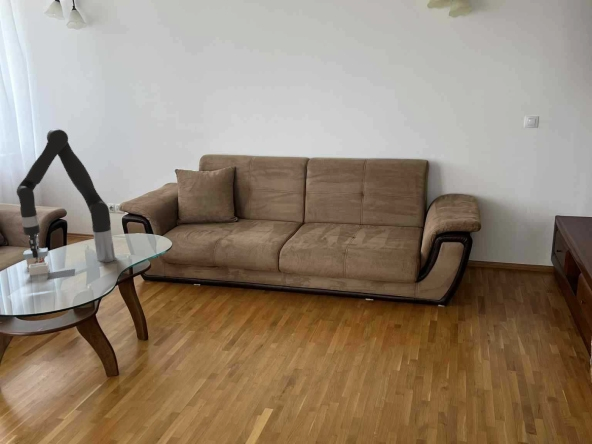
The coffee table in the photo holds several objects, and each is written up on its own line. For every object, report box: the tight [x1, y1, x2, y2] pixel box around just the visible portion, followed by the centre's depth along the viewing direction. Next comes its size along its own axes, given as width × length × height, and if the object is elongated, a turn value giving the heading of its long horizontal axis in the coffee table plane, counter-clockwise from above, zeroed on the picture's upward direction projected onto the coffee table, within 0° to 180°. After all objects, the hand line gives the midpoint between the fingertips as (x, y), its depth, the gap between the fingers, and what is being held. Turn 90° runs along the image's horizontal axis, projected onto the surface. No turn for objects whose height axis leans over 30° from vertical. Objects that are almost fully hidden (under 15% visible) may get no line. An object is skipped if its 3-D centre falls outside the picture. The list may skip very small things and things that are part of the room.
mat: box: [46, 268, 76, 280], centre depth 285 cm, size 13×10×1 cm
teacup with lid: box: [25, 247, 46, 268], centre depth 299 cm, size 12×9×12 cm
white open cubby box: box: [27, 261, 51, 276], centre depth 288 cm, size 9×6×5 cm, turn 109°
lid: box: [22, 247, 49, 260], centre depth 286 cm, size 11×6×3 cm, turn 108°
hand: (36, 255), depth 286 cm, fingers closed on lid, 6 cm apart
